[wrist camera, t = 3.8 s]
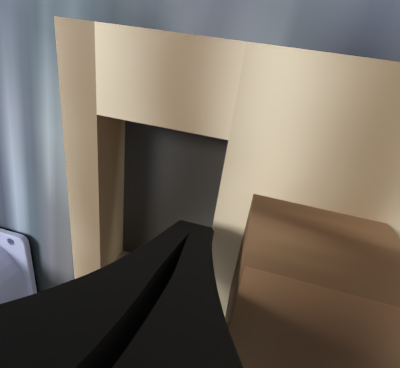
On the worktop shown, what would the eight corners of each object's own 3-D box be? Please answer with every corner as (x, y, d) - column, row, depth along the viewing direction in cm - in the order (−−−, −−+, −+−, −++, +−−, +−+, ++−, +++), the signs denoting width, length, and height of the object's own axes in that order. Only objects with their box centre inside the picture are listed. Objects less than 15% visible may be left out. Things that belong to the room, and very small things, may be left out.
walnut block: (230, 286, 11) (213, 383, 8) (253, 193, 10) (245, 265, 6) (339, 316, 11) (376, 440, 7) (387, 223, 9) (470, 326, 5)
